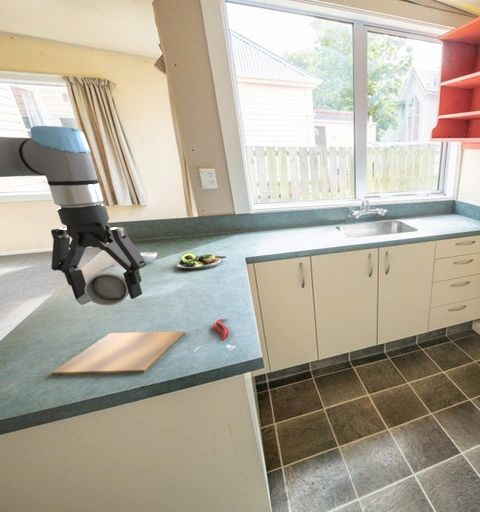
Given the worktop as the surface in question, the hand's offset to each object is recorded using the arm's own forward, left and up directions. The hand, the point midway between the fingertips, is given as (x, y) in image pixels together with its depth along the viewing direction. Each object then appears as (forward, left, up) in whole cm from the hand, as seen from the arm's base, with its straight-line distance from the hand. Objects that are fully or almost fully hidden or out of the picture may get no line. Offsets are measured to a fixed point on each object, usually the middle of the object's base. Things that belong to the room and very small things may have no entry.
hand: (110, 296), depth 70 cm
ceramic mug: (0, 0, -1) cm, 1 cm away
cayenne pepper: (+19, +9, -15) cm, 26 cm away
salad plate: (-17, +66, -15) cm, 69 cm away
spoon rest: (-43, +63, -15) cm, 77 cm away
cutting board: (0, 0, -15) cm, 15 cm away
